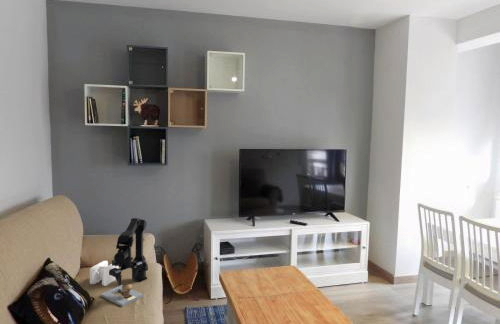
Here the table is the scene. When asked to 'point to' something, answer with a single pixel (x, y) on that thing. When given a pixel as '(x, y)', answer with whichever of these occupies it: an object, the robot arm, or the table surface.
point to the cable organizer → (101, 273)
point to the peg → (126, 290)
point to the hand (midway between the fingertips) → (126, 282)
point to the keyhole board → (118, 299)
